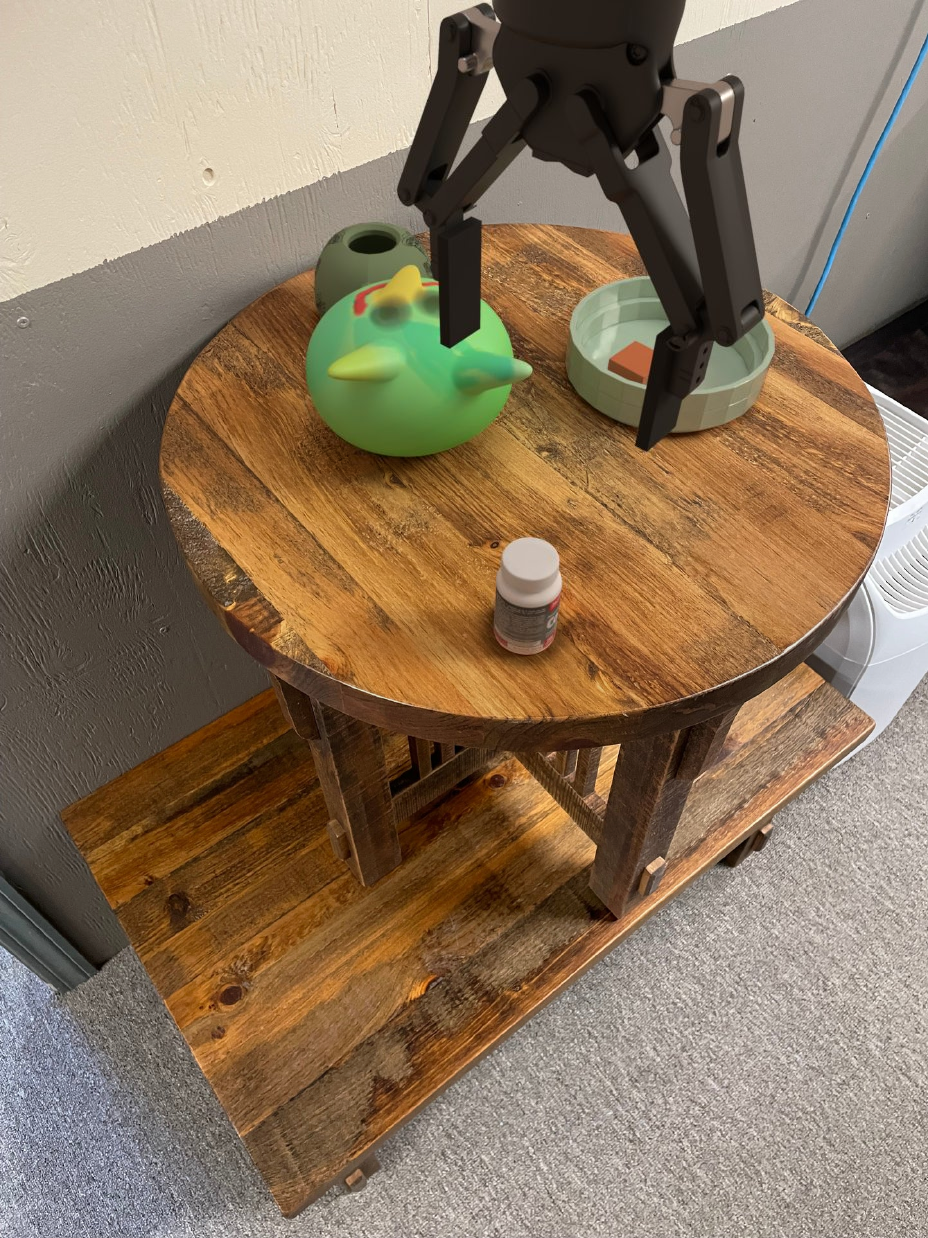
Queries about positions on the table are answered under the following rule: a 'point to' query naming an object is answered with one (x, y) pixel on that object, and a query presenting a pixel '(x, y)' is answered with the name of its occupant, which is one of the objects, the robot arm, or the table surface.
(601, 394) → the bowl
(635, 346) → the block
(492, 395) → the toy bird
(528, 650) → the pill bottle
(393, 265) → the mug
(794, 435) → the table surface
